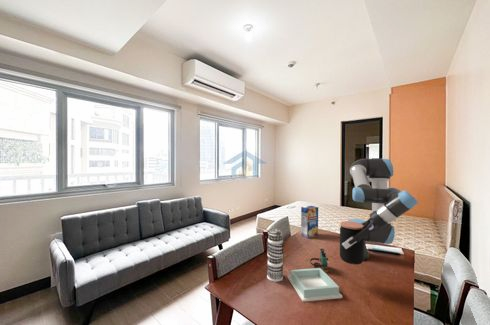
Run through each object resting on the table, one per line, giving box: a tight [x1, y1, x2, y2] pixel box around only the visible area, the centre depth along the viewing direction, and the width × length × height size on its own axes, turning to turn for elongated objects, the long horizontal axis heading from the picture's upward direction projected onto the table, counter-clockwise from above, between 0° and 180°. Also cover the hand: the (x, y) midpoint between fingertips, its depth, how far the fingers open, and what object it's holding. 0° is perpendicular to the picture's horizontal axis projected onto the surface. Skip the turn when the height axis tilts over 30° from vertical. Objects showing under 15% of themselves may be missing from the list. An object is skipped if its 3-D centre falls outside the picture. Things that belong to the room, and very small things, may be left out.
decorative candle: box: [266, 228, 285, 282], centre depth 110 cm, size 9×9×25 cm
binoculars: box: [309, 248, 329, 273], centre depth 119 cm, size 9×11×10 cm
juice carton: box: [300, 205, 319, 239], centre depth 172 cm, size 12×8×24 cm, turn 117°
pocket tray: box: [287, 267, 343, 303], centre depth 101 cm, size 19×19×4 cm
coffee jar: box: [339, 220, 365, 266], centre depth 103 cm, size 11×11×18 cm
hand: (345, 242), depth 105 cm, fingers closed on coffee jar, 11 cm apart
